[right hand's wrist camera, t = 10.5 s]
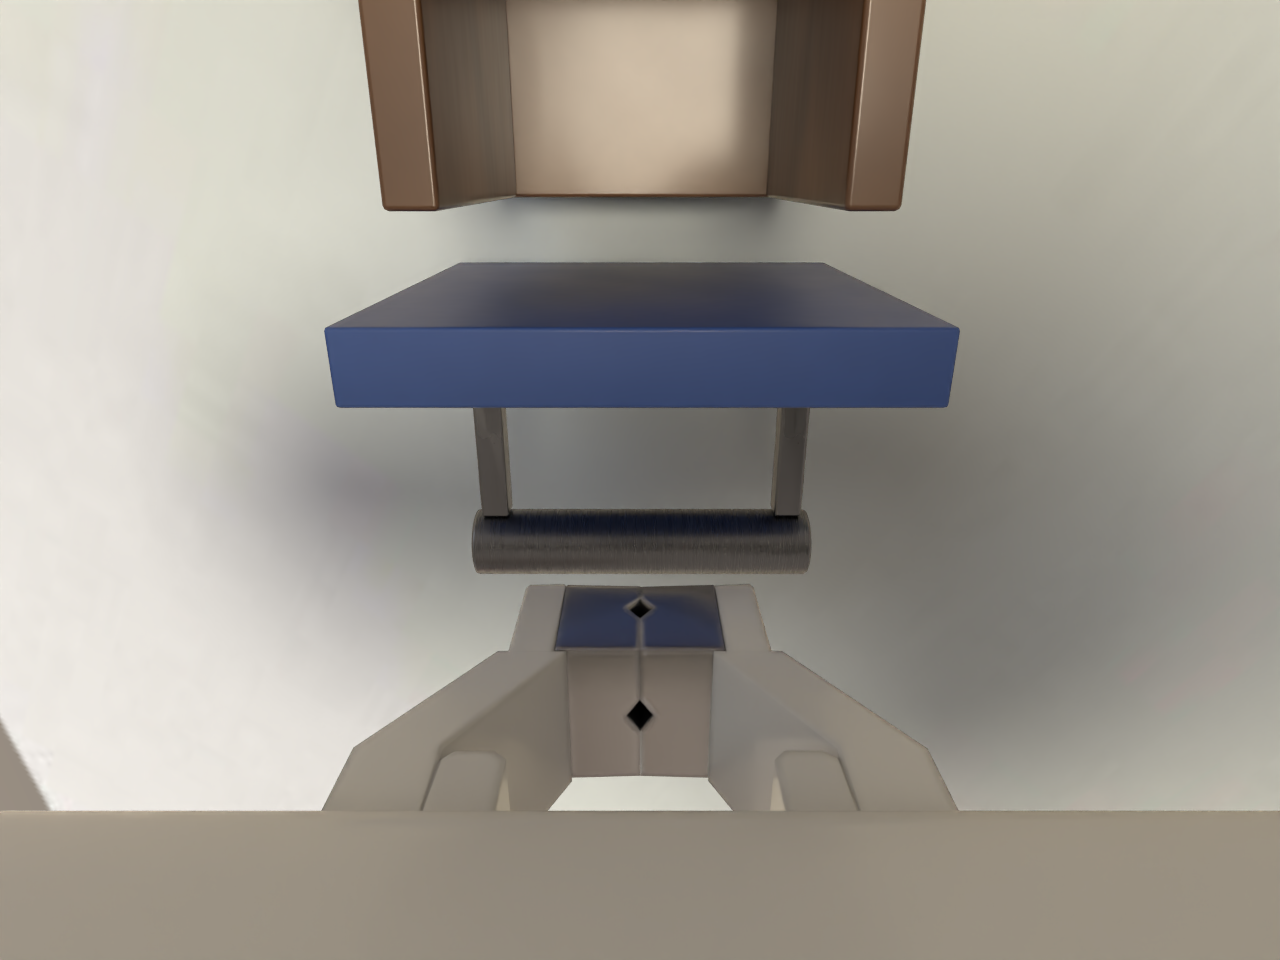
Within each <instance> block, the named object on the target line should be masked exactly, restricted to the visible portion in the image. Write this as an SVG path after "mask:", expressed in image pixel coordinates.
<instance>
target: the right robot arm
mask: <svg viewBox="0 0 1280 960" xmlns="http://www.w3.org/2000/svg"><path fill="white" fill-rule="evenodd" d="M608 776H671V777H708V781H709V782H710V783H711V784H712V786H713V787H714V788H715V789H716V791H717V792H718V793H719V794H720V796H721V797H722V798H723V799H724V800H725V802H726V803H727V804H728V805H729V807H730V808H731V809H732V810H733V811H548V810H549V808H550V807H551V806H552V805H553V804H554V802H555V801H556V800H557V799H558V797H559V796H560V795H561V794H562V793H563V791H564V790H565V789H566V788H567V786H568V785H569V784H570V783H571V782H572V777H608ZM0 960H1280V811H958V809H957V807H956V805H955V803H954V801H953V799H952V797H951V795H950V793H949V791H948V789H947V787H946V785H945V783H944V781H943V779H942V777H941V775H940V773H939V771H938V769H937V767H936V765H935V763H934V761H933V759H932V757H931V755H930V753H929V751H928V749H927V748H926V747H924V746H923V745H921V744H920V743H918V742H917V741H915V740H914V739H912V738H911V737H909V736H908V735H906V734H905V733H903V732H902V731H900V730H899V729H897V728H896V727H894V726H893V725H891V724H890V723H888V722H887V721H885V720H884V719H882V718H881V717H879V716H878V715H876V714H875V713H873V712H872V711H870V710H869V709H867V708H866V707H865V706H863V705H862V704H860V703H859V702H857V701H856V700H854V699H853V698H851V697H850V696H848V695H847V694H845V693H844V692H842V691H841V690H839V689H838V688H836V687H835V686H833V685H832V684H830V683H829V682H827V681H826V680H824V679H823V678H821V677H820V676H818V675H817V674H815V673H814V672H812V671H811V670H809V669H808V668H806V667H805V666H803V665H802V664H800V663H799V662H797V661H796V660H794V659H793V658H791V657H790V656H788V655H787V654H785V653H784V652H782V651H771V648H770V644H769V641H768V637H767V634H766V630H765V627H764V623H763V620H762V616H761V613H760V609H759V605H758V602H757V598H756V595H755V591H754V588H753V586H751V585H750V584H740V585H718V586H714V585H695V586H654V587H640V586H591V585H567V587H566V586H565V584H555V585H530V586H528V587H527V588H526V591H525V594H524V598H523V601H522V605H521V608H520V612H519V616H518V619H517V623H516V626H515V630H514V633H513V637H512V641H511V644H510V648H509V651H498V652H496V653H495V654H493V655H492V656H490V657H489V658H487V659H486V660H484V661H483V662H481V663H480V664H478V665H477V666H475V667H474V668H472V669H471V670H469V671H468V672H466V673H465V674H463V675H462V676H460V677H459V678H457V679H456V680H454V681H453V682H451V683H450V684H448V685H447V686H445V687H444V688H442V689H441V690H439V691H438V692H436V693H435V694H433V695H432V696H430V697H429V698H427V699H426V700H424V701H423V702H421V703H420V704H418V705H417V706H415V707H414V708H412V709H411V710H409V711H408V712H406V713H405V714H403V715H402V716H400V717H399V718H397V719H396V720H394V721H393V722H391V723H390V724H388V725H387V726H385V727H384V728H382V729H381V730H379V731H378V732H376V733H375V734H373V735H372V736H370V737H369V738H367V739H366V740H364V741H363V742H361V743H360V744H358V745H357V746H355V747H354V748H353V750H352V752H351V754H350V756H349V757H348V759H347V761H346V763H345V765H344V767H343V769H342V771H341V773H340V775H339V777H338V779H337V781H336V783H335V785H334V787H333V789H332V791H331V793H330V795H329V797H328V799H327V801H326V803H325V805H324V807H323V809H322V811H0Z"/></svg>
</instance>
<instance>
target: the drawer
mask: <svg viewBox="0 0 1280 960" xmlns="http://www.w3.org/2000/svg"><path fill="white" fill-rule="evenodd" d="M358 3H359V12H360V20H361V28H362V37H363V45H364V54H365V62H366V70H367V79H368V87H369V95H370V104H371V112H372V121H373V129H374V137H375V146H376V154H377V163H378V171H379V179H380V188H381V196H382V205H383V207H384V209H385V210H387V211H439V210H445V209H450V208H456V207H462V206H468V205H473V204H479V203H485V202H491V201H496V200H502V199H508V198H513V197H770V198H776V199H782V200H788V201H794V202H799V203H805V204H811V205H817V206H823V207H828V208H834V209H840V210H846V211H896V210H898V209H899V208H900V206H901V204H902V196H903V188H904V180H905V171H906V163H907V155H908V147H909V138H910V130H911V122H912V113H913V105H914V97H915V89H916V80H917V72H918V64H919V55H920V47H921V39H922V31H923V22H924V14H925V6H926V0H358ZM324 332H325V338H326V345H327V351H328V358H329V364H330V371H331V377H332V384H333V390H334V396H335V403H336V406H337V407H340V408H473V412H474V424H475V436H476V448H477V459H478V471H479V483H480V495H481V506H482V509H480V510H478V511H477V513H476V515H475V518H474V523H473V529H472V558H473V563H474V567H475V570H476V572H477V573H480V574H804V573H806V572H807V570H808V567H809V563H810V558H811V530H810V523H809V519H808V516H807V513H806V511H805V510H802V509H801V504H802V493H803V481H804V469H805V458H806V446H807V435H808V423H809V412H810V408H945V407H947V406H948V403H949V397H950V390H951V384H952V378H953V371H954V365H955V358H956V352H957V346H958V339H959V333H960V330H959V328H958V327H956V326H954V325H952V324H949V323H947V322H945V321H943V320H941V319H939V318H937V317H935V316H933V315H931V314H929V313H927V312H924V311H922V310H920V309H918V308H916V307H914V306H912V305H910V304H908V303H906V302H904V301H902V300H900V299H897V298H895V297H893V296H891V295H889V294H887V293H885V292H883V291H881V290H879V289H877V288H875V287H872V286H870V285H868V284H866V283H864V282H862V281H860V280H858V279H856V278H854V277H852V276H850V275H847V274H845V273H843V272H841V271H839V270H837V269H835V268H833V267H831V266H829V265H827V264H825V263H458V264H456V265H454V266H452V267H450V268H448V269H446V270H444V271H442V272H440V273H438V274H436V275H434V276H432V277H430V278H427V279H425V280H423V281H421V282H419V283H417V284H415V285H413V286H411V287H409V288H407V289H405V290H403V291H401V292H399V293H396V294H394V295H392V296H390V297H388V298H386V299H384V300H382V301H380V302H378V303H376V304H374V305H372V306H370V307H368V308H365V309H363V310H361V311H359V312H357V313H355V314H353V315H351V316H349V317H347V318H345V319H343V320H341V321H339V322H337V323H334V324H332V325H330V326H328V327H326V328H325V331H324ZM506 408H777V421H776V435H775V449H774V463H773V478H772V492H771V507H772V509H511V508H512V490H511V476H510V461H509V446H508V432H507V417H506Z"/></svg>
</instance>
